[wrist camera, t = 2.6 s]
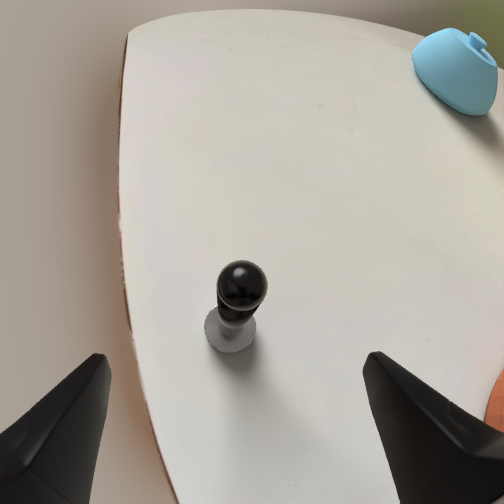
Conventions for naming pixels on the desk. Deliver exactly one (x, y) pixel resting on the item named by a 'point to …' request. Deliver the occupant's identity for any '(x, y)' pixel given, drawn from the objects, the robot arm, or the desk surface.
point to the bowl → (496, 405)
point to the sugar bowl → (457, 70)
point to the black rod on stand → (236, 306)
